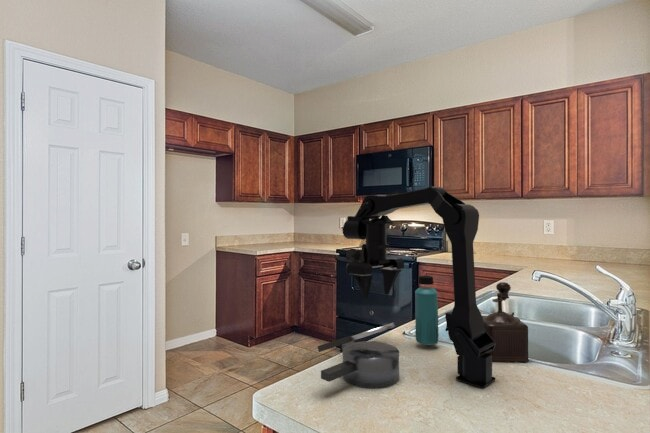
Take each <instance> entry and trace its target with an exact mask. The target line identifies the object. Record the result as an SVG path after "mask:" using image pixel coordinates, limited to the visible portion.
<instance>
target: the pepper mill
mask: <svg viewBox="0 0 650 433" xmlns="http://www.w3.org/2000/svg"><path fill="white" fill-rule="evenodd" d="M495 287H496V290H497V292H498V293H496V294H497V295H496V296H497V297H496V298H492V299H491V301H492V302H493V303H497V307H498V308H497V309H498V310H497V311H496V312H492V313H489V314H488V315H482V317H483V322H484V326H485V330H486V331H487V333H488V334H489V335H490V336H491V337H492V338H493V340H494V341H495V342H496V345H495V348H494V350H493V351H491V352H489V354H492V363H510V364H511V363H514V364H515V363H522V364H526V363H529V362H530V360H529V326H528V325H527V324H526V323H524V322H523V321H521V319H520V318H519V317H517V316H514V315H515V312H512V313H511V314H510V313H507V312H505V311H504V310H503V304H502V303H503V301H506V300H507V299H510V296H509V292H510V291H511V289H512V287H511V285H510V284H509V283H508V282H504V281H503V282H501V281H500V282H498V283H497V284H496V286H495Z"/></svg>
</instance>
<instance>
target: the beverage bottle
mask: <svg viewBox="0 0 650 433" xmlns="http://www.w3.org/2000/svg"><path fill="white" fill-rule="evenodd" d="M418 284H419V285H424V286H420V287H418V288H417V289H415V291H414V294H415V295H414V297H415V298H414V299H415V300H414V301H415V303H414V304H415V306H414V307H415V309H414V311H415V312H414V323H415V330H414V332H415V334H414V336H415V338H414V340H416V343H418V344H421V345H426V346H427V345H429V346H430V345H436V344H438V343H439V339H440V338H439V337H440V335H439V322H440V321H439V306H438V301H439V300H438V295H439V293H438V291H437V290H436V289H435V288H434V287H430V286H431V285H434V277H433V276H431V275H420V276H418ZM426 285H427V286H426ZM429 285H430V286H429Z"/></svg>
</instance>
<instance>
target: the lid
mask: <svg viewBox="0 0 650 433" xmlns="http://www.w3.org/2000/svg"><path fill="white" fill-rule="evenodd" d="M395 327H396V325H395V323H394V322H391V323H388V324H385V325H381V326H379V327H376V328H372V329H370V330H366V331H363V332H360V333H358V334H355V335H349V336H345V337H342V338H339V339H335V340H333V341H330V342H326V343H324V344H323V343H322V344H320V345H318V346H317V350H318V352H319V353H320V352H323V351H327V350H330V349H334V348H335V347H339V346H342V344H345V343H348V342H351V341H354V342H355V341H358V340H359V339H360V340H361V339H362V338H366V337H369V336H372V335H375V334H378V333H381V332H384V331H387V330H389V329H390V330H391V329H393V328H395Z"/></svg>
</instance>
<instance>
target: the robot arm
mask: <svg viewBox="0 0 650 433" xmlns="http://www.w3.org/2000/svg"><path fill="white" fill-rule="evenodd" d="M424 205H430V206H431V208H432V210H434V212H435V213H436V214H437V215H438V216H439V217H441V219H442V223H443V228H444V233H446V236H447V237H448V240H449V241H450V244H451V262H452V264H451V265H452V281H453V282H452V283H453V303H454V305H453V309H452V310H450V311H448V312H446V313H445V322H446V327H445V332H447V334H448V335H447V336H448V338H449V340H450V341H452V345H453V347H454V350H455V353H456V355H457V357H456V358H457V359H456V360H457V361H456V362H457V363H456V365H457V366H456V367H457V375H456V377H455V380H456V381H457V382H458V381H459V382H462V383H464V384H468V385H471V386H474V387H477V388H480V389H485V388H486V387H488V386H489V385H491V384H492V383H493V382H495V381H496V377H494V376H493V362H492V354H489V352H491V351H493V350H494V348H495V345H496V342H495V341H494V340H493V338H492V337H491V336H490V335H489V334H488V333H487V331H486V330H485V326H484V322H483V317H482V316H483V315H482V312H481V311H480V309H479V307H478V305H477V296H476V295H477V294H476V278H475V277H476V275H475V274H476V273H475V256H474V242H475V238H476V235H477V232H478V230H479V221H480V213H479V210H478V209H477V208H476V207H475V206H474V205H472V204H468V203H467V204H466V203H465V202H464V201H462V200H461V199H459V198H457V197H456V196H454V195H453V194H451V193H449V192H448V191H447V190H445V189H444V188H443V187H441V186H428V187H426V188H421V189H417V190H416V189H415V190H411V191H407V192H406V191H405V192H402V193H396V194H391V195H385V194H384V195H381V194H377V195H376V194H369V195H365V196H364V197H363V199H362V203H361V204H360V206H359V208H358V209H357V212H356V214H355V215H348V216H347V219H346V221H345V222H344V223H343V226H342V235H343V236H344V237H345V239H348V240H360V241H361V240H362V241H364V240H365V243H362V245H361V249H360V250H356V249H355V248H350V249H349V248H348V249H347V250H346V254H345V255H346V261H347V262H348V263H346V267H345V269H346V270H345V271H346V273H345V274H349V276H351V277H353V279H355V280H356V282H357V285H358V287H359V290H360V293H361V295H362V298H363V300H368V299H369V295H370V291H371V285H372V280H373V276H374V275H373V274H372V271H373V270H379V271H380V272H381V274H382V279H383V281H382V282H383V292H384V295H389V294H390V292H391V289H392V288H393V285H394V283H395V281H396V279H397V278H398V276H399V274H400V273H401V272H402V269H405V261H404V260H403V259H402V257H400V258H399V257H391V256H390V257H389V256H388V257H387V249H389V248H390V247H391V245H390V243H387V225H393V224H394V221H393V220H392V219H390V218H389V216H388V215H390V214H391V213H394V212H395V211H397V210H400V209H405V208H406V209H407V208H412V207H419V206H424Z"/></svg>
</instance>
